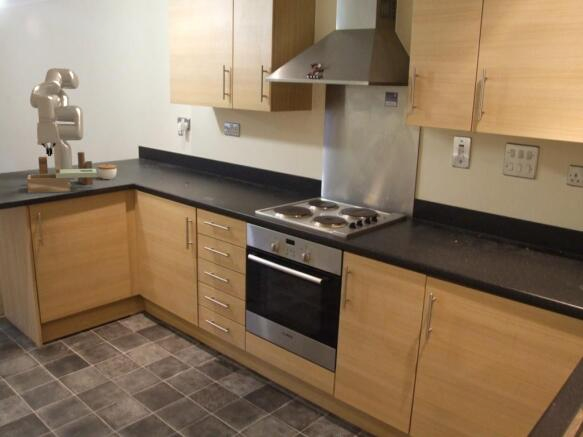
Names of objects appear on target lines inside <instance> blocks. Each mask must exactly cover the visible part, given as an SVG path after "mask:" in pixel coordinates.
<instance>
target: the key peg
mask: <svg viewBox="0 0 583 437" xmlns="http://www.w3.org/2000/svg"><path fill="white" fill-rule="evenodd" d="M38 169H39V175H42V174H49V170H48V169H49V168H48V156H38Z"/></svg>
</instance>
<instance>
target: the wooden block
mask: <svg viewBox="0 0 583 437" xmlns="http://www.w3.org/2000/svg"><path fill="white" fill-rule="evenodd" d="M85 158H86V157H85V152H84V151H78V152H77V165H78V166H77V169H93V163H92V162H93V161H92V160H89V161H88V160H87V161H86V159H85ZM93 178H94V177H80V178H77V182H78V183H79V184H83V185H85V186H90V185H91V186H92V185H94V182H93V180H94V179H93Z"/></svg>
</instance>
